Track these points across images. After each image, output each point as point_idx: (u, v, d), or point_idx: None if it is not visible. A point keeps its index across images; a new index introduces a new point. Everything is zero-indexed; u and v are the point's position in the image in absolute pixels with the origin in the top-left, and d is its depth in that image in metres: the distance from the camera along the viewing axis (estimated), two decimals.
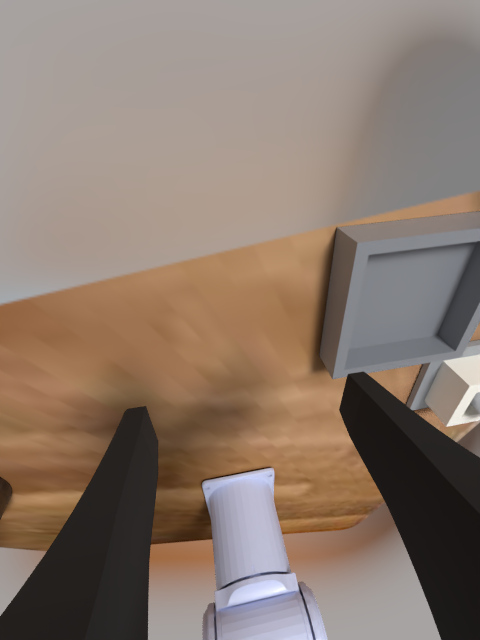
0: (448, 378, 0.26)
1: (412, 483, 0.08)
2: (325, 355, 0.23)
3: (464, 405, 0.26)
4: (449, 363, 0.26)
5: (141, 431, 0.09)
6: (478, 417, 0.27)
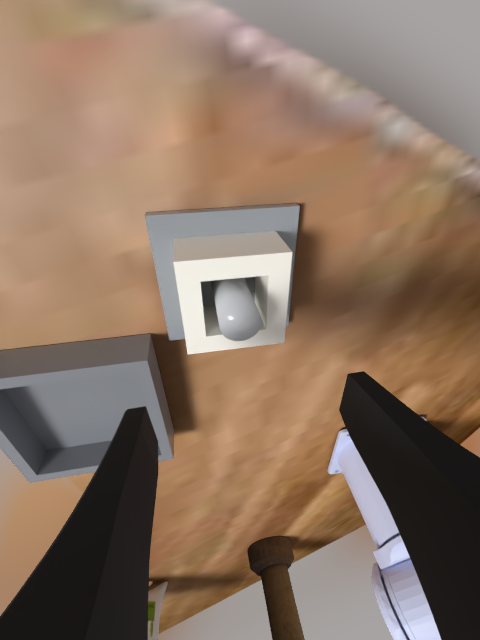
0: None
1: (412, 483, 0.08)
2: None
3: None
4: None
5: (141, 431, 0.09)
6: (278, 297, 0.15)
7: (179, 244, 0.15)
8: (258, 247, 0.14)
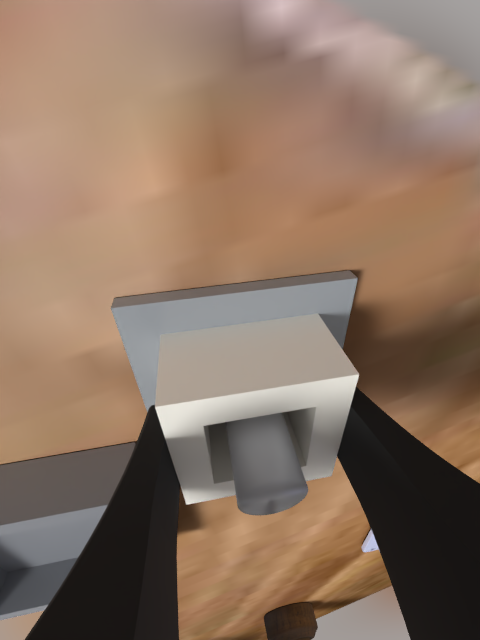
0: None
1: (385, 489, 0.08)
2: None
3: None
4: None
5: None
6: (329, 429, 0.10)
7: (167, 351, 0.09)
8: (298, 359, 0.09)
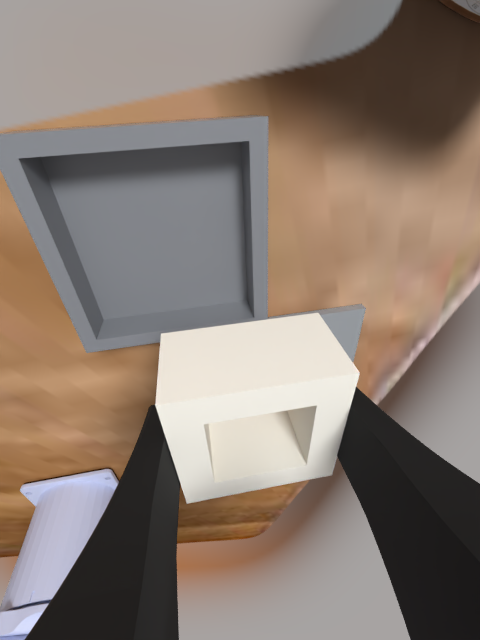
0: None
1: (385, 489, 0.08)
2: None
3: (256, 481, 0.11)
4: None
5: None
6: (330, 428, 0.10)
7: (168, 350, 0.09)
8: (298, 358, 0.09)
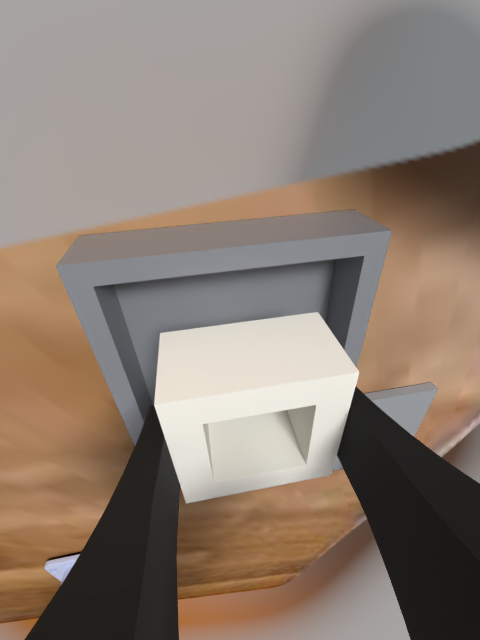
0: None
1: (385, 489, 0.08)
2: None
3: (256, 481, 0.11)
4: None
5: None
6: (330, 428, 0.09)
7: (167, 350, 0.09)
8: (298, 358, 0.09)
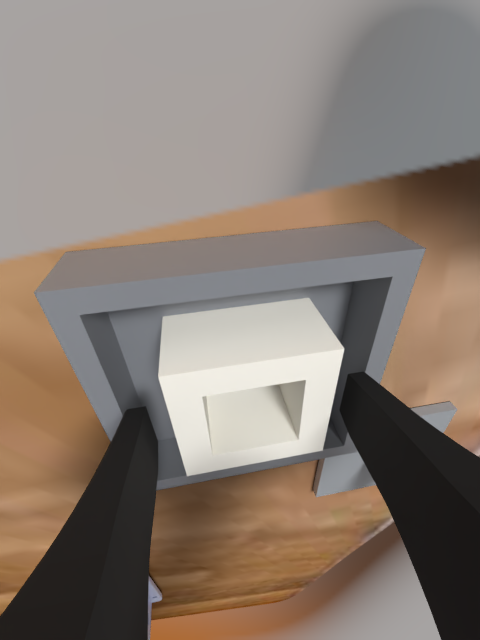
0: None
1: (412, 483, 0.08)
2: None
3: (251, 455, 0.11)
4: None
5: (141, 431, 0.09)
6: (319, 403, 0.10)
7: (169, 331, 0.10)
8: (289, 337, 0.10)
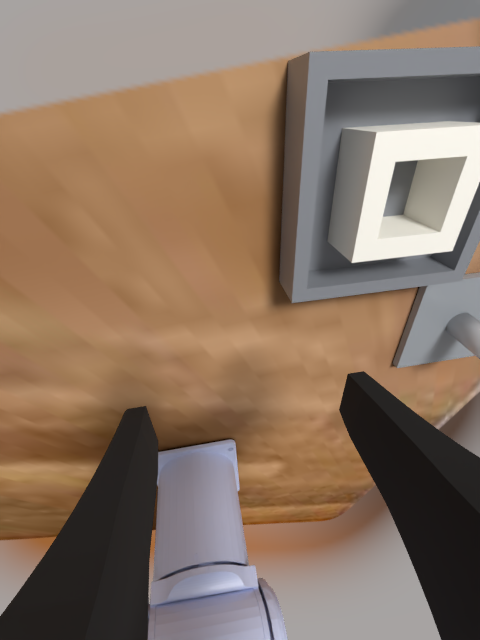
0: None
1: (412, 483, 0.08)
2: (284, 275, 0.18)
3: (403, 245, 0.15)
4: (330, 239, 0.17)
5: (141, 431, 0.09)
6: (467, 187, 0.14)
7: (357, 128, 0.13)
8: (454, 125, 0.13)
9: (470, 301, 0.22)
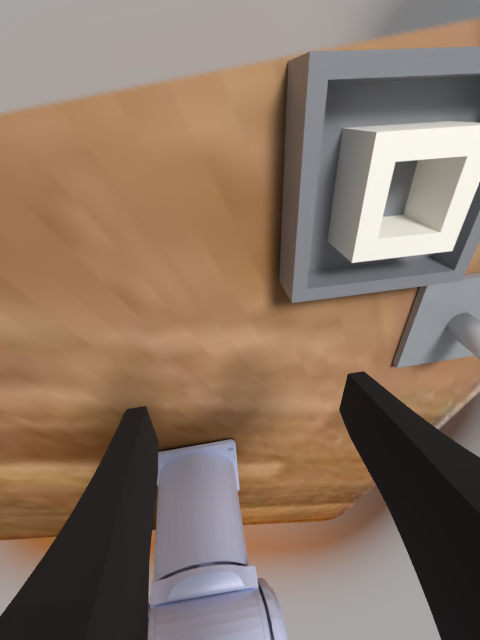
0: None
1: (412, 483, 0.08)
2: (284, 275, 0.18)
3: (403, 245, 0.15)
4: (330, 239, 0.17)
5: (141, 431, 0.09)
6: (467, 187, 0.14)
7: (357, 128, 0.13)
8: (454, 125, 0.13)
9: (470, 301, 0.22)
